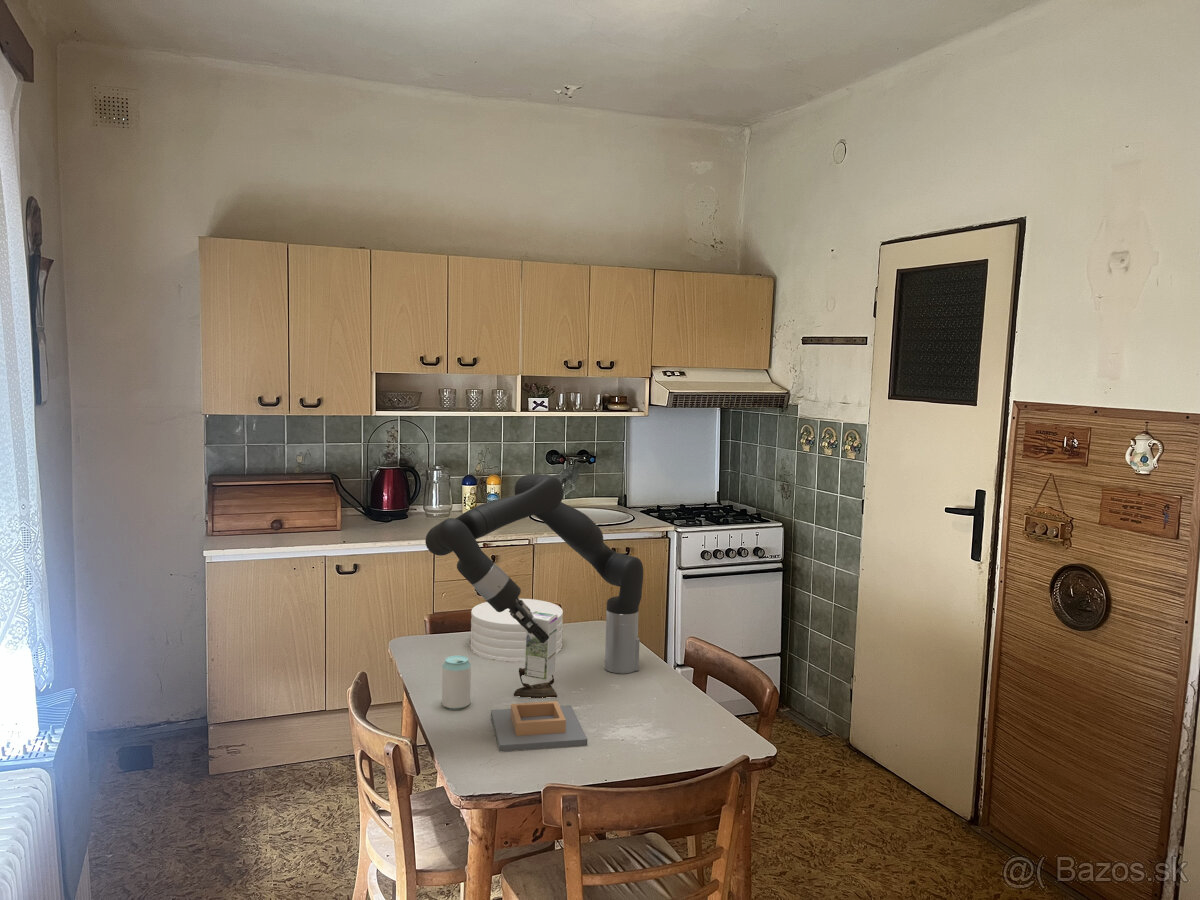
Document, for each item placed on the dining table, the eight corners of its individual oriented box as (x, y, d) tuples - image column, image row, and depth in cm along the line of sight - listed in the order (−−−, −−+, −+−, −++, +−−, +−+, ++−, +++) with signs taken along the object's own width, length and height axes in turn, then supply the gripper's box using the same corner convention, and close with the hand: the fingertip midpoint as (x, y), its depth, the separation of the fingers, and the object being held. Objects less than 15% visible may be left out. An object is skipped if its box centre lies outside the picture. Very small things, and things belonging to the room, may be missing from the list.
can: (474, 701, 216) (475, 655, 215) (464, 712, 209) (465, 665, 208) (448, 698, 217) (449, 653, 216) (437, 708, 210) (438, 662, 209)
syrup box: (555, 672, 200) (558, 613, 199) (546, 680, 195) (549, 619, 194) (533, 669, 202) (536, 610, 201) (523, 676, 197) (526, 615, 196)
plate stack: (484, 630, 276) (485, 596, 275) (569, 636, 272) (570, 601, 271) (459, 658, 248) (459, 620, 247) (552, 665, 244) (553, 627, 243)
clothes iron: (560, 698, 221) (553, 665, 218) (518, 712, 218) (511, 678, 215) (553, 686, 227) (546, 653, 225) (513, 699, 224) (505, 666, 222)
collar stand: (570, 710, 212) (571, 693, 211) (587, 745, 192) (587, 726, 192) (490, 715, 207) (491, 698, 207) (499, 751, 188) (499, 732, 187)
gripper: (511, 583, 188) (560, 632, 191) (504, 568, 202) (550, 615, 205) (486, 606, 187) (536, 656, 191) (481, 590, 201) (527, 637, 204)
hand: (543, 634), depth 198 cm, fingers closed on syrup box, 8 cm apart
